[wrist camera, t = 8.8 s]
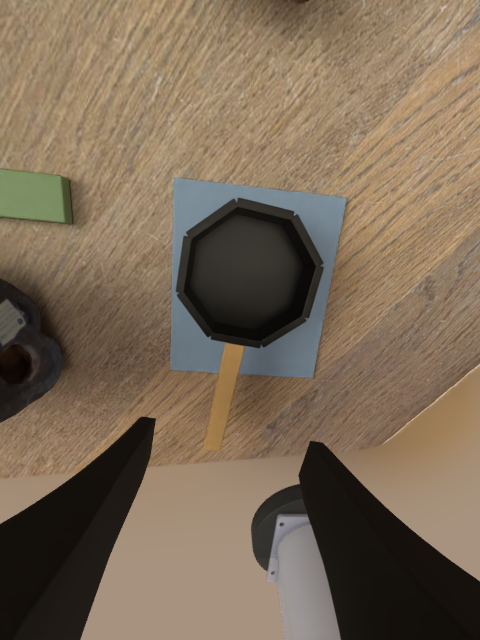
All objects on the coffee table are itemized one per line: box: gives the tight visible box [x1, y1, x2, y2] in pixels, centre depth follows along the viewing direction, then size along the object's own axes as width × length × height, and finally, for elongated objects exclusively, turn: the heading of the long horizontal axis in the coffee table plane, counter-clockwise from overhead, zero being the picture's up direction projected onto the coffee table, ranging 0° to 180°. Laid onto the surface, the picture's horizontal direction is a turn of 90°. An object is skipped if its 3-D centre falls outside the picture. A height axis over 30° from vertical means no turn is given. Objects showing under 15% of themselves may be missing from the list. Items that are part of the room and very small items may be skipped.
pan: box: [176, 198, 324, 451], centre depth 16 cm, size 16×8×3 cm, turn 168°
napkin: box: [170, 177, 347, 378], centre depth 17 cm, size 13×11×1 cm
